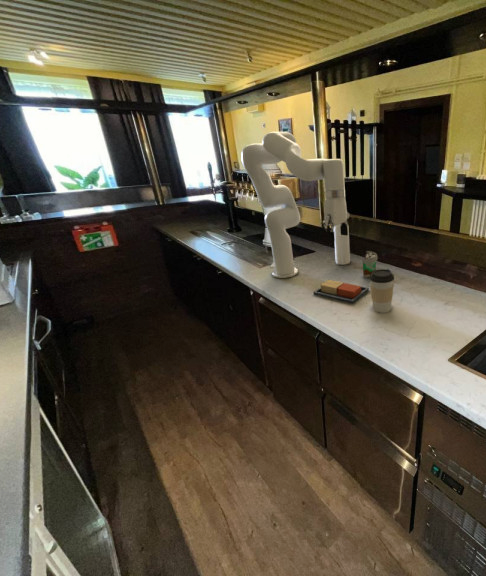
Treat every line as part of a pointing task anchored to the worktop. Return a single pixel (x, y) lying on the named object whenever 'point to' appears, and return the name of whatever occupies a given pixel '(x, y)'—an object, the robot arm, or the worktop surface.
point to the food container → (369, 263)
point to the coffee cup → (382, 289)
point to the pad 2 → (349, 290)
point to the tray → (341, 298)
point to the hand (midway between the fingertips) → (337, 238)
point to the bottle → (341, 246)
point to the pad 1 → (330, 286)
